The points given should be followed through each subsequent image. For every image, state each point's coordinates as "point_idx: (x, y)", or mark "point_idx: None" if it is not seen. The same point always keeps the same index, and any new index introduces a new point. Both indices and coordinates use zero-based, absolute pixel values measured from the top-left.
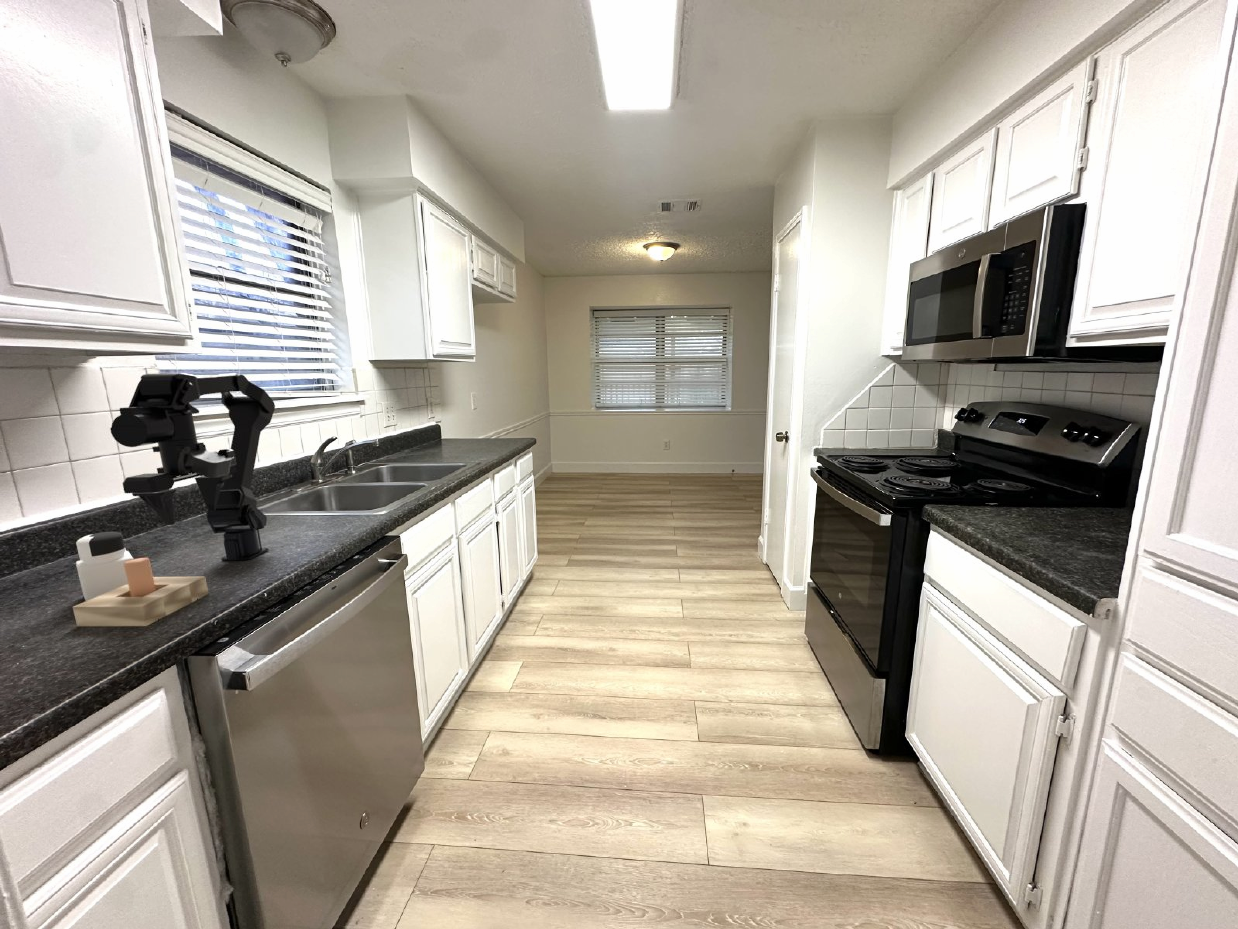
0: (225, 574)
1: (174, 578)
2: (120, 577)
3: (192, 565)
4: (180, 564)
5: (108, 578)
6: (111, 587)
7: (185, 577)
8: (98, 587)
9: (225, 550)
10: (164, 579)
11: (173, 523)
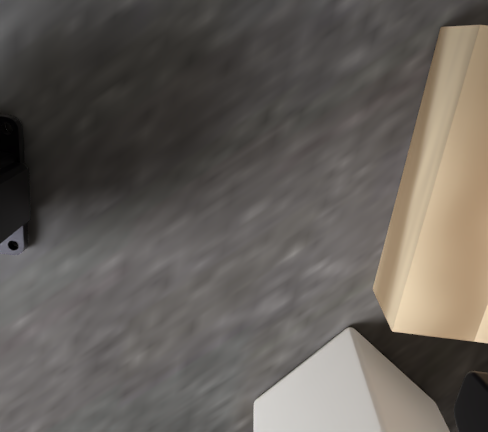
0: (198, 113)
1: (460, 179)
2: (400, 405)
3: (77, 331)
4: (65, 381)
5: (426, 430)
6: (410, 399)
7: (460, 132)
8: (437, 427)
9: (11, 233)
10: (457, 220)
11: (485, 376)
